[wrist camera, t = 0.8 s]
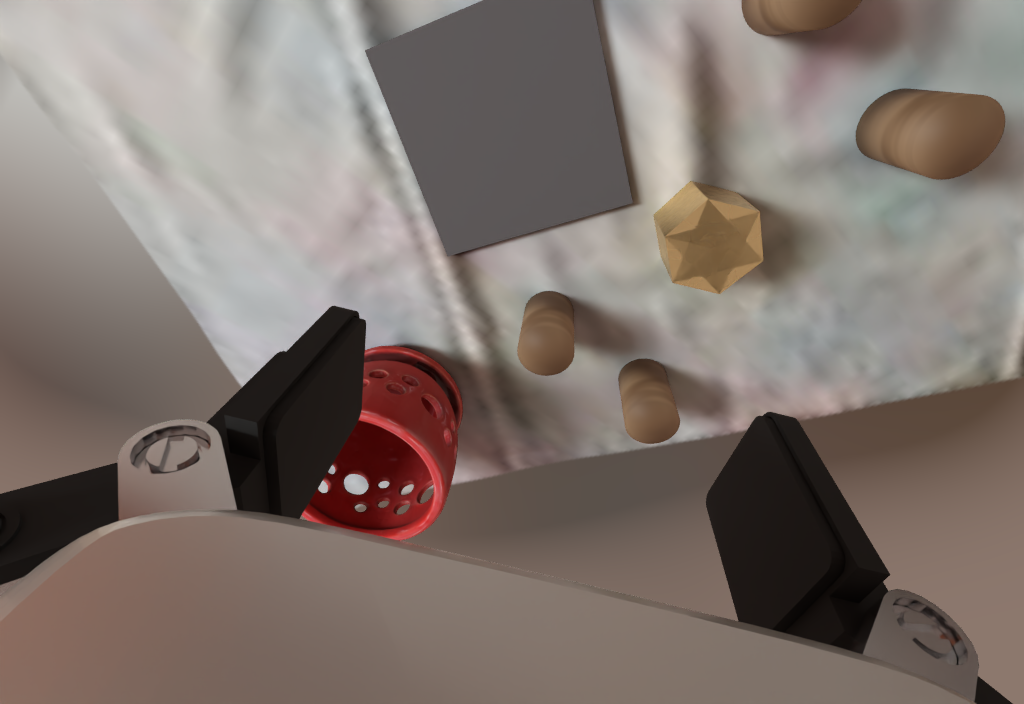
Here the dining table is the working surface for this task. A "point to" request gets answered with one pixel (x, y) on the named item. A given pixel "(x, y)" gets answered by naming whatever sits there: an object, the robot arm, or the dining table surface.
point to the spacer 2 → (647, 402)
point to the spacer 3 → (795, 14)
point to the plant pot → (395, 447)
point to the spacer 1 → (547, 334)
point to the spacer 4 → (931, 131)
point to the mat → (505, 118)
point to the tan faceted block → (708, 237)
